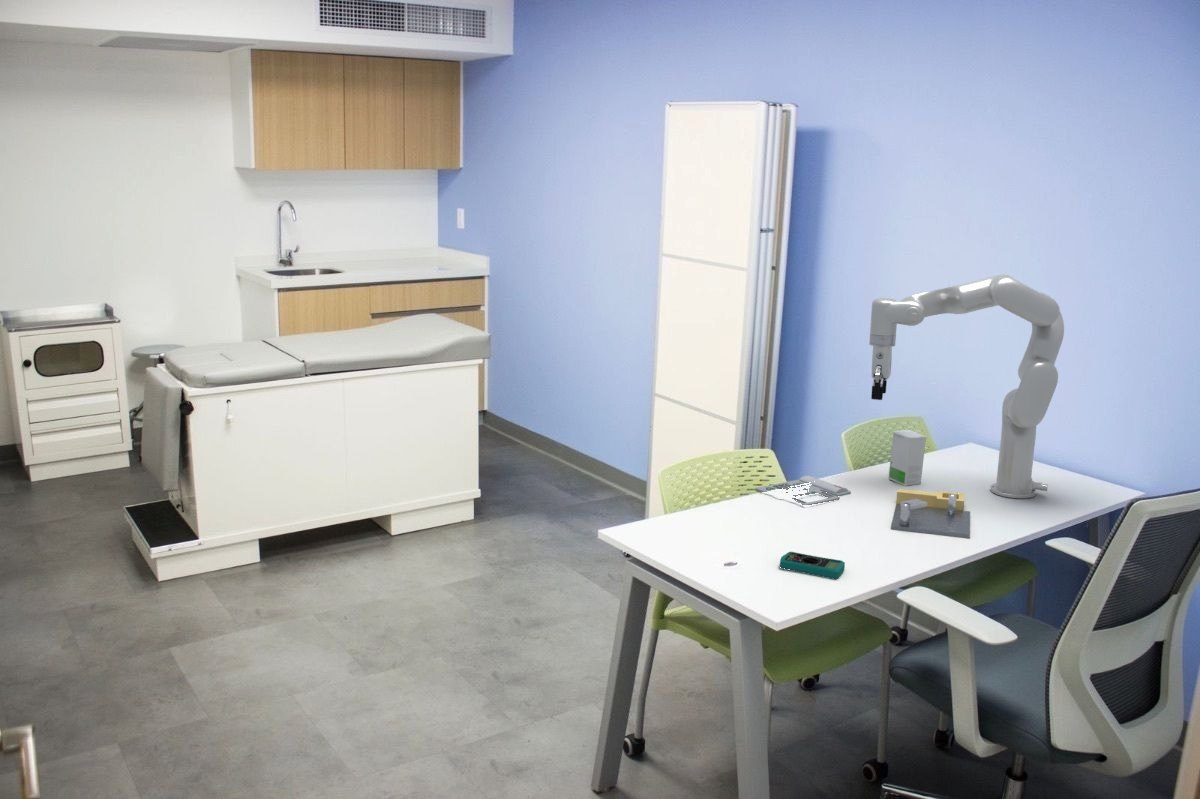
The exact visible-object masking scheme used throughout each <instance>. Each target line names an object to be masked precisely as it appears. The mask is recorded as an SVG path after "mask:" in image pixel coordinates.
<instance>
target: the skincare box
mask: <svg viewBox="0 0 1200 799" xmlns="http://www.w3.org/2000/svg"><path fill="white" fill-rule="evenodd" d="M891 439H892V440H891V449H890V461H889V467H888V468H889V469H888V475H887V476H888V480H891V481H893V482H895V483H898V484H899V485H902V486H904V487H909V486H915V485H920V484H921V483H922V477H923V476H922V474H923V467H924V459H925V458H924V457H925V452H926V451H925V450H926V441H927V436H926V435H923V434H921V433H919V432H917V431H913V430H911V429H901V430H894V431H892V438H891Z"/></svg>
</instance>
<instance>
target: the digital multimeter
mask: <svg viewBox="0 0 1200 799" xmlns="http://www.w3.org/2000/svg"><path fill="white" fill-rule="evenodd" d="M845 564H846V562H845V561H843V560H841V559H834V558H827V557H822V556H818V555H817V556H816V555H811V554H804V553H800V552H795V551H789V552H786V553H785V554H783V555H782V556H781V557H780V560H779V568H780V567H781V568H785V569H790V570H795V571H794V572H796V571H799V572H798V573H801V572H805V573H804V574H807V573H809V575H812V574H814V575H813V576H817V575H819V576H818V577H822V576H824V578H827V577H829V578H828V579H832V578H834V579H833V580H838V578H840V577H841V576H842V575H843V573H844V572H845ZM790 570H789V571H790Z"/></svg>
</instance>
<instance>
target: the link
mask: <svg viewBox="0 0 1200 799" xmlns="http://www.w3.org/2000/svg"><path fill="white" fill-rule="evenodd" d="M949 494H956V495H957V496H956V507H955V510H962V511H964V508H965V506H964V505H965V493H959V492H953V491H944V490H943V491H941V490H937V492H930V491H922V490H921V491H920V490H914V489H913V490H910V489H902V488H901V489H900V488H897V491H896V499H895V500H896V502H895V504H896V503H898V504H900V502H903V501H908V500H912V499H919V500H921V501H924V502H927V506H926V507H935V508H944V509H948V500H949Z"/></svg>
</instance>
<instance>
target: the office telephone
mask: <svg viewBox="0 0 1200 799" xmlns="http://www.w3.org/2000/svg"><path fill="white" fill-rule="evenodd" d="M814 481H815V482H814ZM809 482H811V483H810V484H812V485H811V486H809V487H810V488H809V492H808V489H806V488H804V489H803V490H807V493H805V495H809V494H815V493H819V494H821V495H823V496H825V497H828V498H825V497H824V499H819V500H815V501H814V500H813V501H809V502H806V501H805V500H801V499H796V498H792V499H794V500H795V501H796V500H797V501H796V502H798V503H801V504H802V505H812V504H818V503H823V502H829V501H833V502H835V501H834V500H837V501H839V499H841V498H840V497H843V496H848V495H851V494H852V492H851V490H849V489H848V488H846V487H842V486H840V485H837V484H834V483H832V482H828V481H825V480H822V479H819V478H816V477H813V476H810V475H804V476H801V477H800V478H799V479H794V480H789V481H783V482H779V483H774V484H769V485H762V486H758V487H755V488H754V490H755V491H756V492H758V493H761V494H763V493H762V492H767V491H771V490H775V489H782V488H783V489H786V490H788V489H789V488H791V487H790V486H794V487H792V488H796V487H795V485H800V484H804V483H809ZM807 485H809V484H807ZM802 486H806V485H801V487H802ZM788 487H789V488H788ZM797 487H800V486H797ZM792 491H793V490H792ZM799 491H800V490H799ZM826 492H827V493H826ZM786 493H788V492H786ZM798 495H800V496H802V495H804V494H798ZM798 495H793V496H795V497H796V496H798ZM823 496H822V497H823ZM838 496H840V497H838ZM829 503H830V502H829Z"/></svg>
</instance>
